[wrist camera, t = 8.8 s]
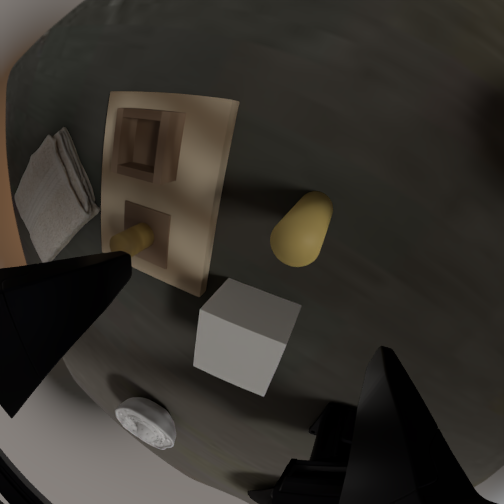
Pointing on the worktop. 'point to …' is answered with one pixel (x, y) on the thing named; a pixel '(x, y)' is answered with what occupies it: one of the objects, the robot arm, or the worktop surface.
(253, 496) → the casserole
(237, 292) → the grey rounded cube
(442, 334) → the worktop surface
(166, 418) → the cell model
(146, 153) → the board
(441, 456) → the robot arm
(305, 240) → the peg
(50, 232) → the washcloth
